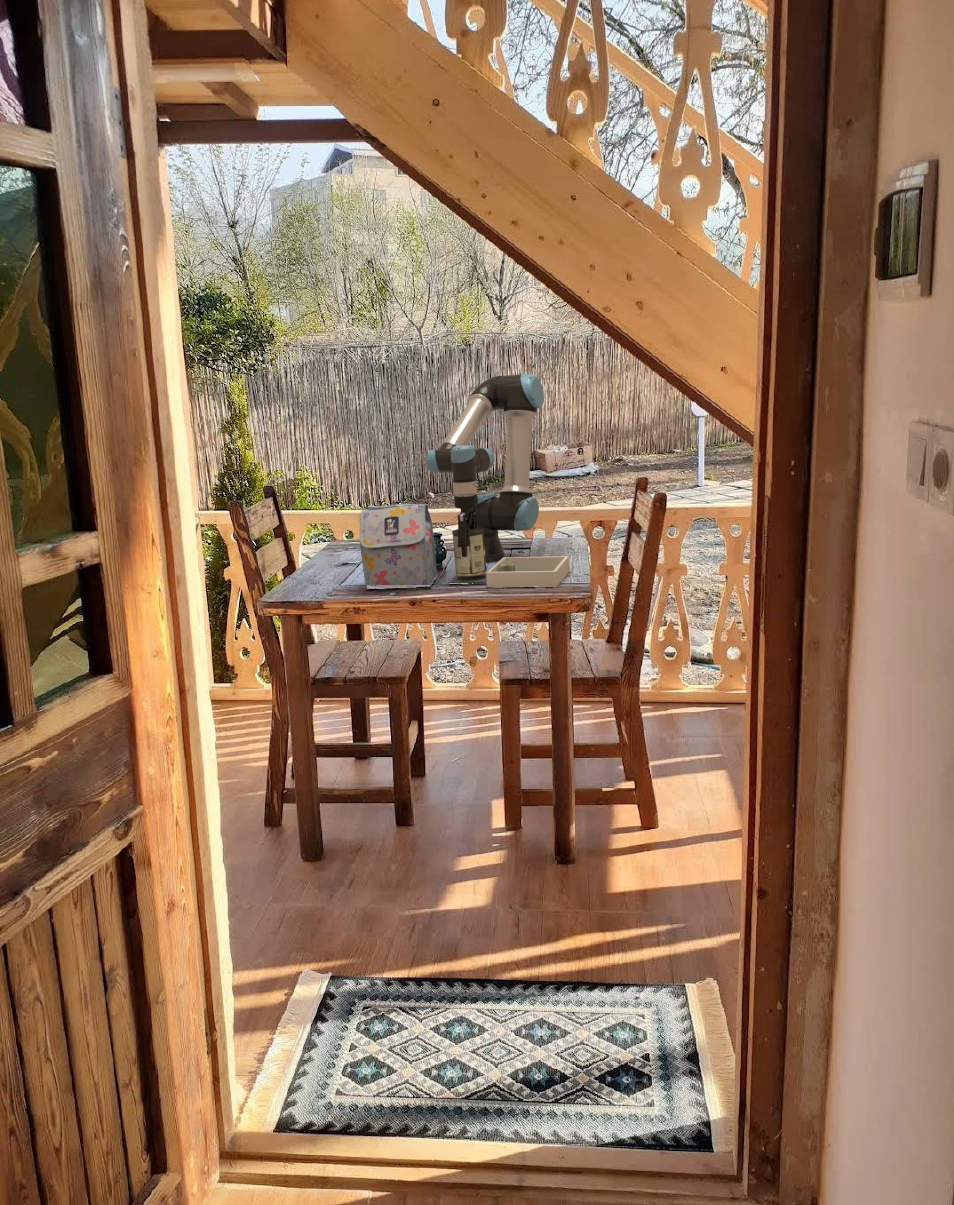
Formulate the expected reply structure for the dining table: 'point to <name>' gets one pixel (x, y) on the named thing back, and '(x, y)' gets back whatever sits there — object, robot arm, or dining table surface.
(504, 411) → the robot arm
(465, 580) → the charcoal mat
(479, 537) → the coffee can
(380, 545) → the lunch bag
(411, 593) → the dining table surface
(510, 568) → the khaki block
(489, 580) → the open crate
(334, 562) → the dining table surface
